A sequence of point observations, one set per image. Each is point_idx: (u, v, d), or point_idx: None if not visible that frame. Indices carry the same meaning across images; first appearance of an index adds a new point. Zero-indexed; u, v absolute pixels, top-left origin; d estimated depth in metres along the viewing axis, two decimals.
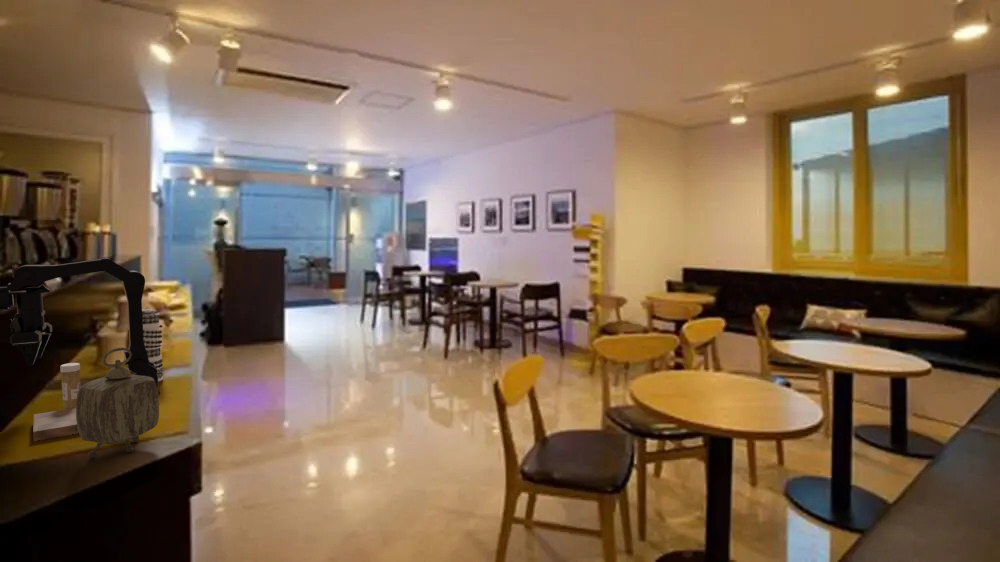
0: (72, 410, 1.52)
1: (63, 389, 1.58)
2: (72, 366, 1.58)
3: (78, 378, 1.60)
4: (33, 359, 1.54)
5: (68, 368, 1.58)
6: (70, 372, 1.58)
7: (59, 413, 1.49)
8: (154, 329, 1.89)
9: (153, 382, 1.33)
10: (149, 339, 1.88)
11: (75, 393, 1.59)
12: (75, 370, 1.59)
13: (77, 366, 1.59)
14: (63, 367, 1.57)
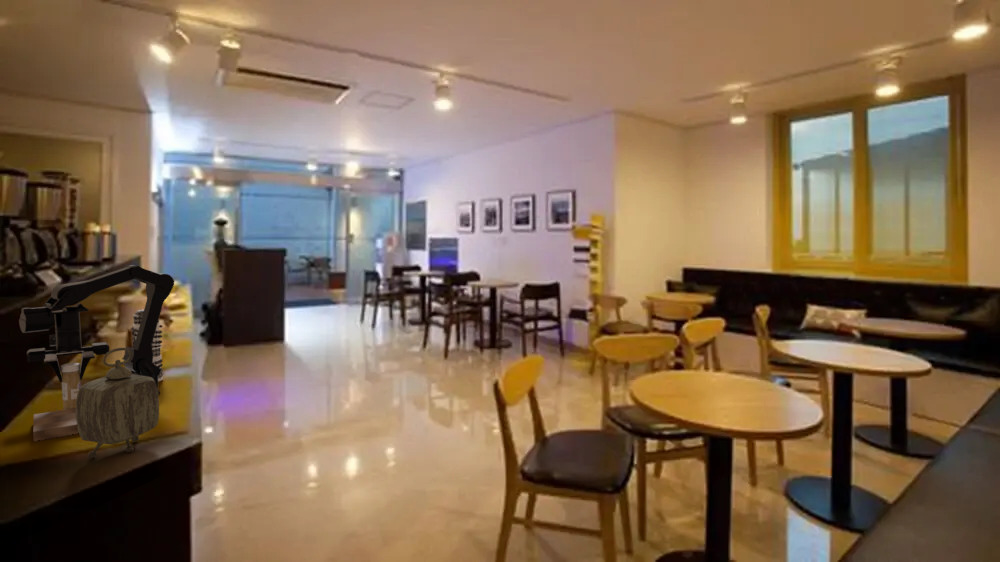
0: (72, 410, 1.52)
1: (63, 389, 1.58)
2: (72, 366, 1.58)
3: (78, 378, 1.60)
4: None
5: (69, 368, 1.58)
6: (70, 372, 1.58)
7: (59, 413, 1.49)
8: None
9: (153, 382, 1.33)
10: None
11: (75, 393, 1.59)
12: (75, 370, 1.59)
13: (77, 366, 1.59)
14: (63, 367, 1.57)
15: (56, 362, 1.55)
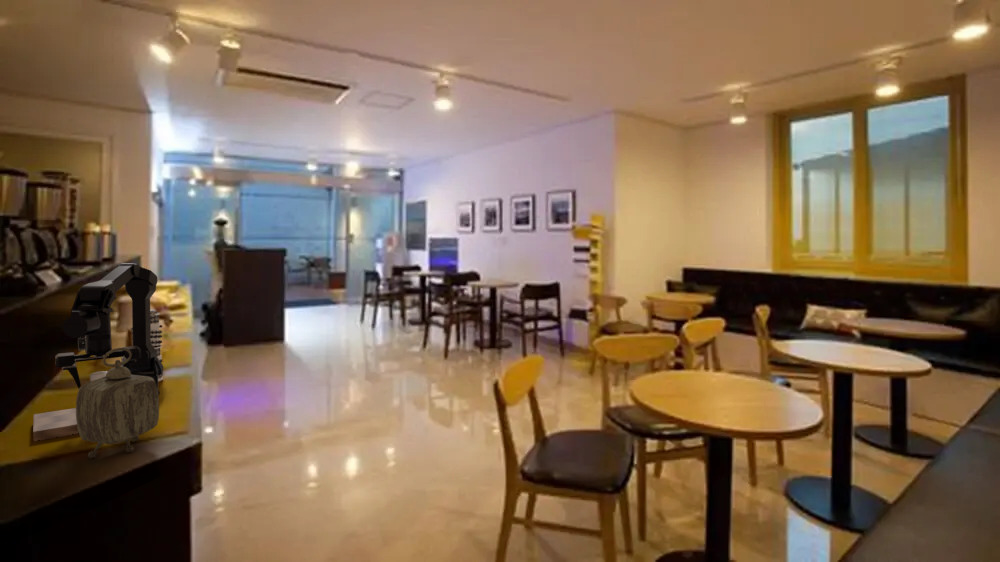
0: (72, 410, 1.52)
1: None
2: (102, 375, 1.49)
3: None
4: None
5: (99, 377, 1.49)
6: None
7: (59, 413, 1.49)
8: (154, 329, 1.89)
9: (153, 382, 1.33)
10: None
11: None
12: None
13: None
14: (93, 376, 1.48)
15: (75, 368, 1.44)
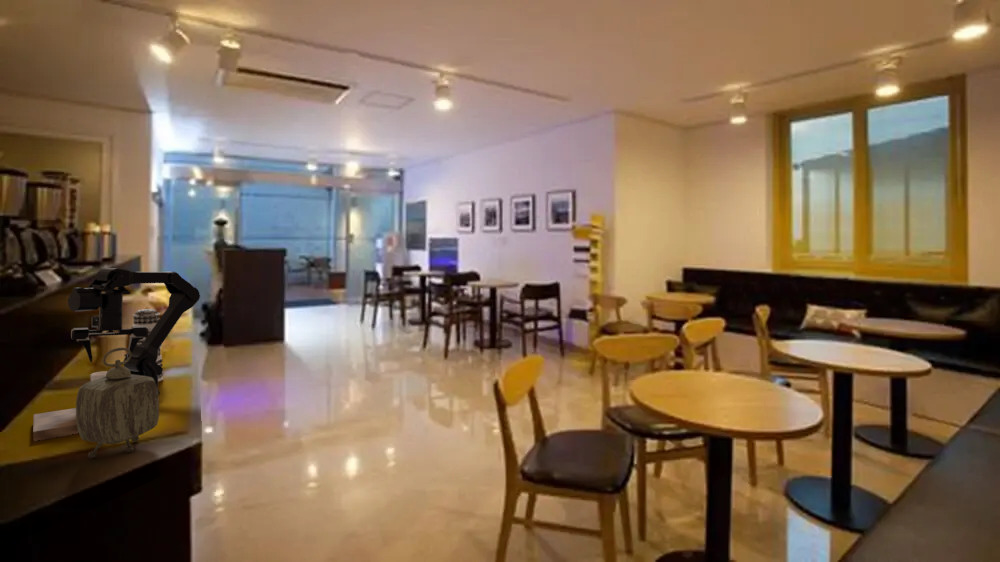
0: (72, 410, 1.52)
1: None
2: (103, 375, 1.49)
3: None
4: (88, 356, 1.62)
5: (99, 377, 1.49)
6: None
7: (59, 413, 1.49)
8: None
9: (153, 382, 1.33)
10: None
11: None
12: None
13: None
14: (94, 376, 1.48)
15: (88, 342, 1.60)
